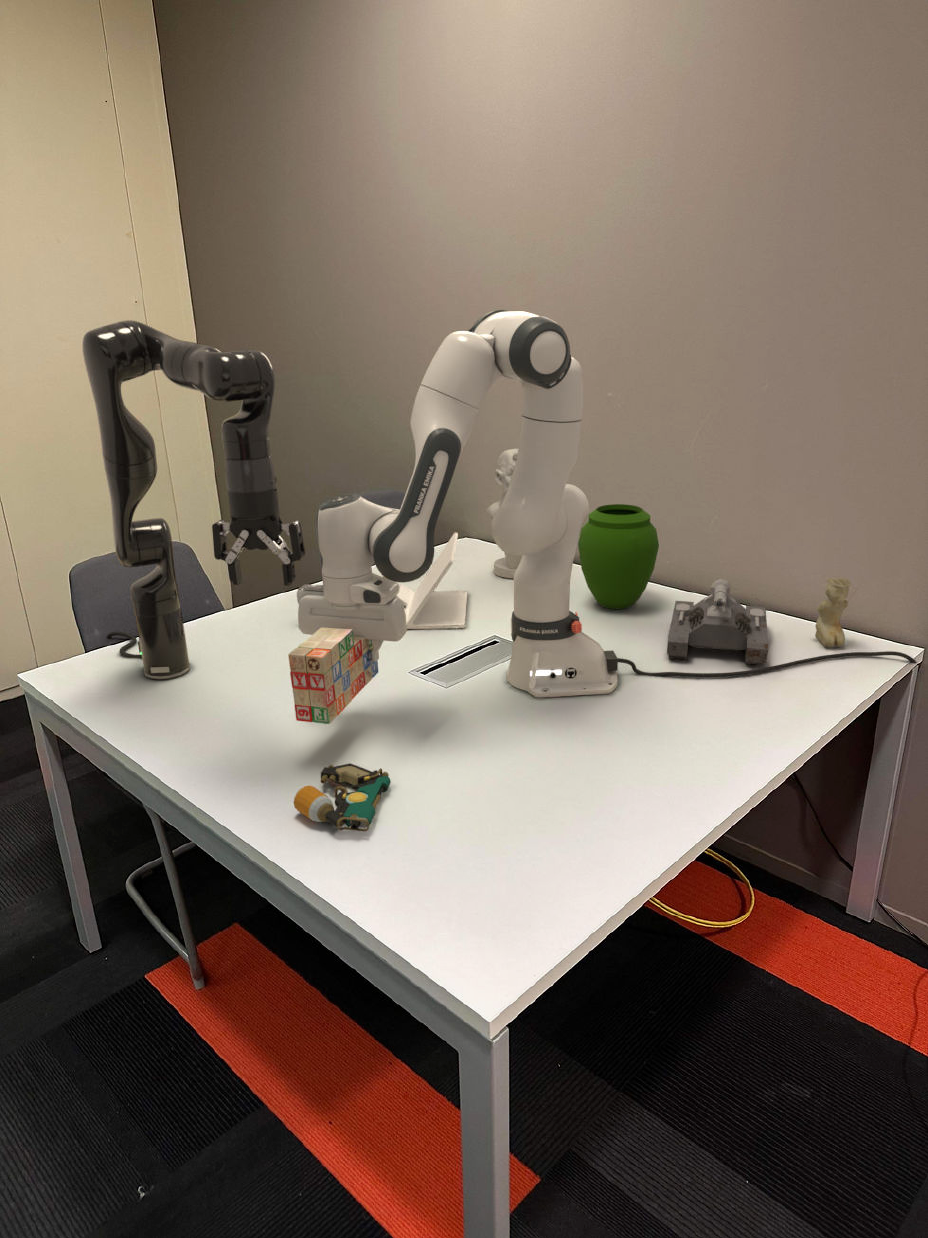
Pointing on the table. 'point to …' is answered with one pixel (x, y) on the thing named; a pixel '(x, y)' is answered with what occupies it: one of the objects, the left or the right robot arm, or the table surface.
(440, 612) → the tablet stand
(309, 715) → the stack of blocks
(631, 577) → the vase
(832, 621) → the sculpture
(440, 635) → the table surface
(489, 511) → the bust sculpture
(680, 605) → the toy
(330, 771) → the spray gun
